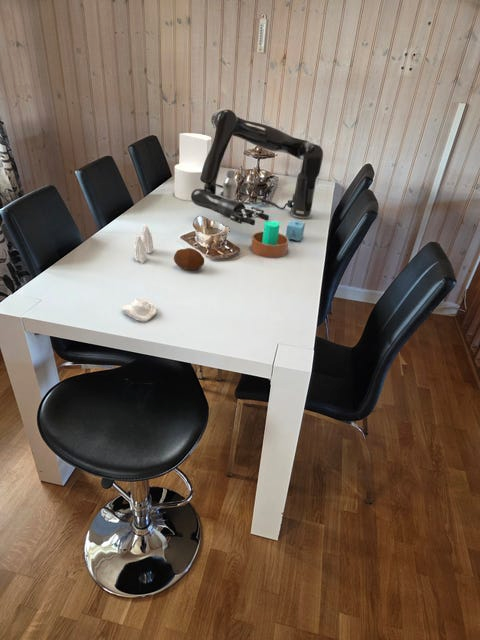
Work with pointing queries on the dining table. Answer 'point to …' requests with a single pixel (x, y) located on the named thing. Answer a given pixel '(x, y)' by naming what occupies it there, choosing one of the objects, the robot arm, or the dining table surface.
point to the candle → (270, 232)
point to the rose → (140, 310)
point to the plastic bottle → (230, 185)
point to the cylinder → (190, 164)
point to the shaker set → (143, 245)
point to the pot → (269, 246)
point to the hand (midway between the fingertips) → (261, 220)
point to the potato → (189, 259)
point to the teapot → (295, 230)
